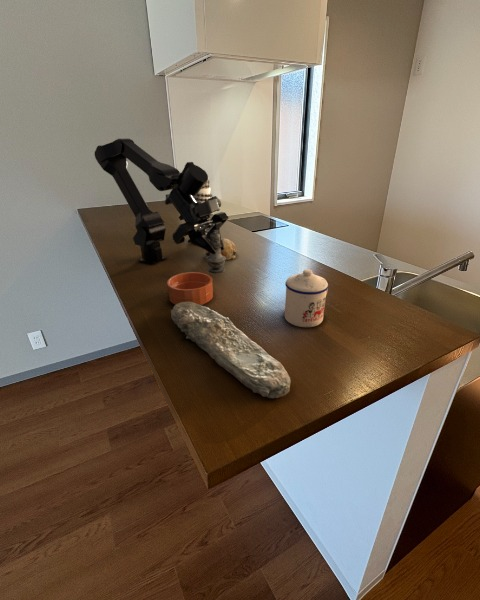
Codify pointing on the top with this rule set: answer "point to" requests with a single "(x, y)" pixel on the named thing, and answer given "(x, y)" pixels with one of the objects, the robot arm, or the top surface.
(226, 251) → the bread roll
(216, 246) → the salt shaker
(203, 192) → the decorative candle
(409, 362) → the top surface
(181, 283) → the bowl
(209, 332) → the elongated rock
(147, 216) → the robot arm
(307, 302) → the teacup with lid
